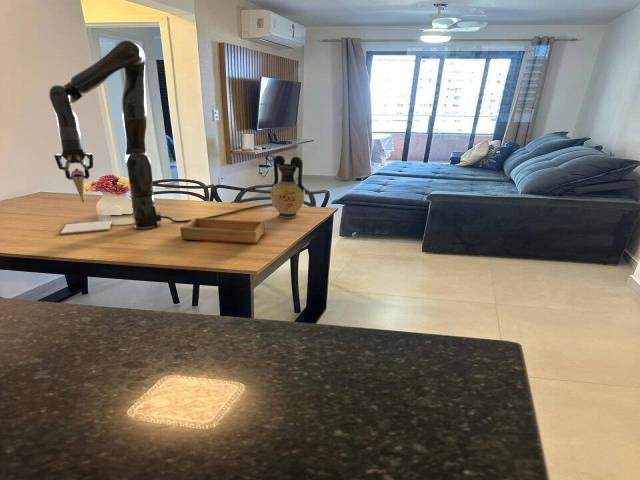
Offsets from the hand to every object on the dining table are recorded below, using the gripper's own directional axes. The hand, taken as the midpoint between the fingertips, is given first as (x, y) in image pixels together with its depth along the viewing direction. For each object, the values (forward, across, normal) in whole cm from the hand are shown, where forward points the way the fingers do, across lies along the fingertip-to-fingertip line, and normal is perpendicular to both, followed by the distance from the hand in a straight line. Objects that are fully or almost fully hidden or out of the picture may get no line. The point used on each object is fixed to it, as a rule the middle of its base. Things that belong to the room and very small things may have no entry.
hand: (78, 178), depth 162 cm
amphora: (+22, +90, -11) cm, 93 cm away
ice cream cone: (+11, 0, 0) cm, 11 cm away
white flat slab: (+22, 0, 0) cm, 22 cm away
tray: (+22, +54, -34) cm, 67 cm away
